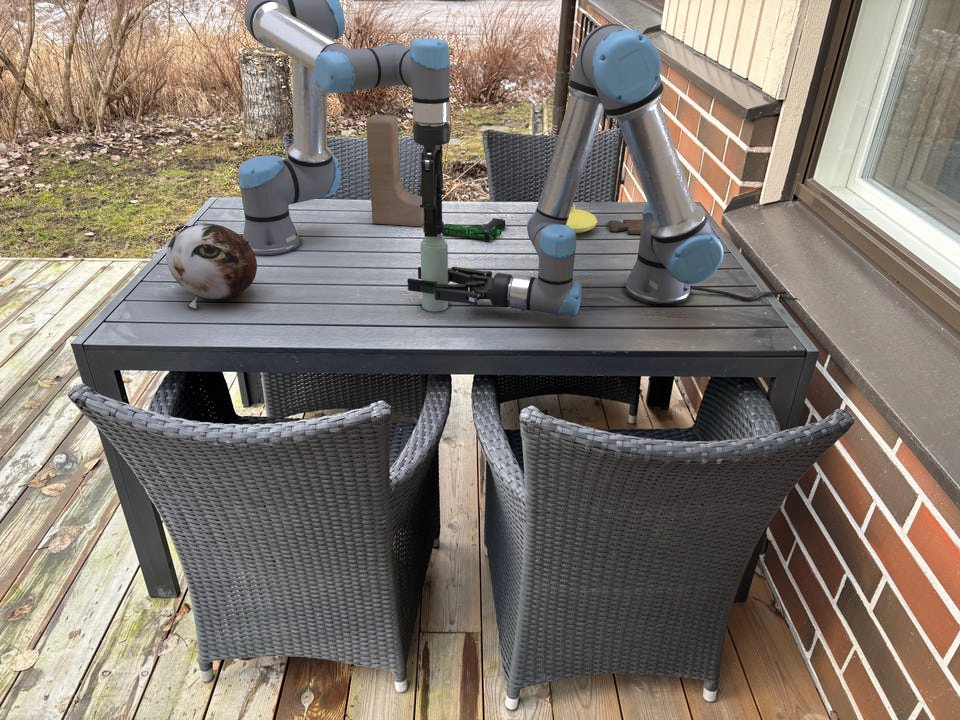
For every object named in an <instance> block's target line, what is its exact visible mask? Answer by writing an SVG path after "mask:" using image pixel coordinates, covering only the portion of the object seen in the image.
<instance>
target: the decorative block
mask: <svg viewBox="0 0 960 720" xmlns="http://www.w3.org/2000/svg"><path fill="white" fill-rule="evenodd" d="M398 118H399V117H397V116H396V115H390V114H389V115H387V114H386V115H385V114H372V115H371V116H370V117H368V118H367V119H366V120H365V129H366V142H367V145H366V146H367V158H368V172H369V190H370V203H371V219H372V220H371V221H372V223H373V224H376V225H377V224H379V225H391V226H392V225H393V226H410V227H423V222H424V208H420V205H422V195H417V194H412V193H410V192H409V191H408V190H406V189H405V186H404V184H403V182H402V180H401V163H400V161H401V160H400V138H399V120H398Z"/></svg>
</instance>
